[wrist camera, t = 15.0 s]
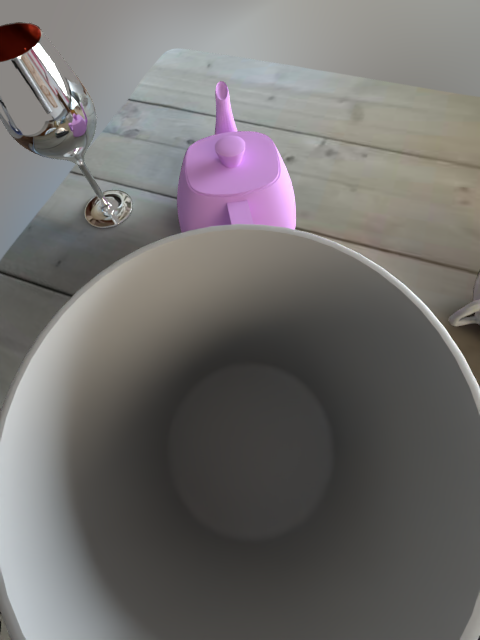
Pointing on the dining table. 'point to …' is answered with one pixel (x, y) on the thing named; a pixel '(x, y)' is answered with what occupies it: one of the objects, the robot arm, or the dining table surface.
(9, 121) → the wineglass
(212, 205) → the teapot
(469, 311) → the teacup
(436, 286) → the dining table surface
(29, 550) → the mug
